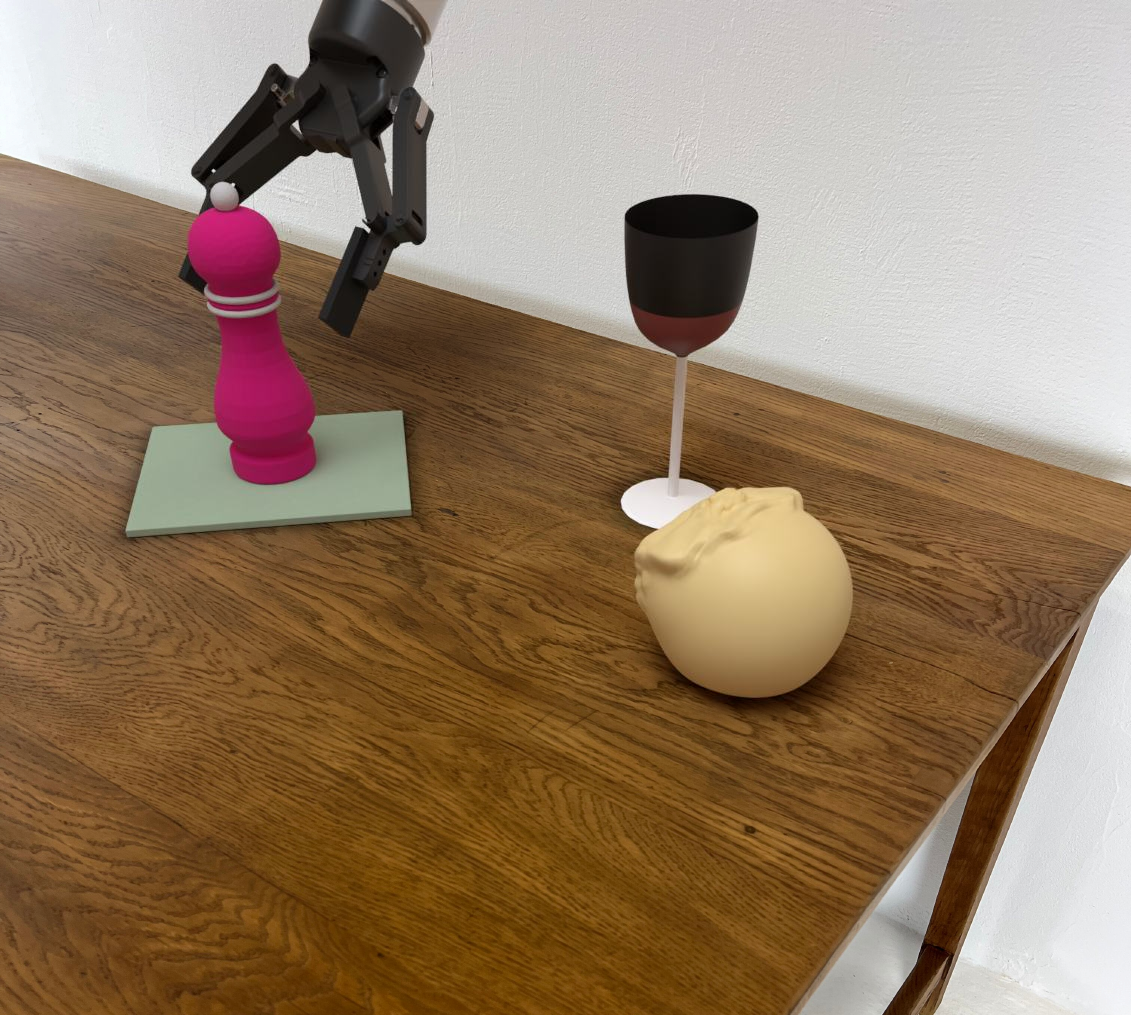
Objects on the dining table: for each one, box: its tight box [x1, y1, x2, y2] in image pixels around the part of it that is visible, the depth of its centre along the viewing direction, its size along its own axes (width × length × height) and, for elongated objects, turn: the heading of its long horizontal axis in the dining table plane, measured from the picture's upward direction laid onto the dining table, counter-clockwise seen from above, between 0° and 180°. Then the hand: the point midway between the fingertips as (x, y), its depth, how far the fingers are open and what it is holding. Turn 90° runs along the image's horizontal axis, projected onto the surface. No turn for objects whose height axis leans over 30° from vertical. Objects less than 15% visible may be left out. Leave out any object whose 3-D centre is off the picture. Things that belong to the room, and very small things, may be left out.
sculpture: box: [633, 486, 854, 699], centre depth 66 cm, size 11×12×11 cm
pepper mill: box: [186, 182, 317, 484], centre depth 80 cm, size 7×7×20 cm
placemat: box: [124, 409, 413, 538], centre depth 87 cm, size 20×16×1 cm
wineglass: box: [620, 193, 760, 530], centre depth 77 cm, size 8×9×20 cm
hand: (261, 307), depth 80 cm, fingers open, 13 cm apart
